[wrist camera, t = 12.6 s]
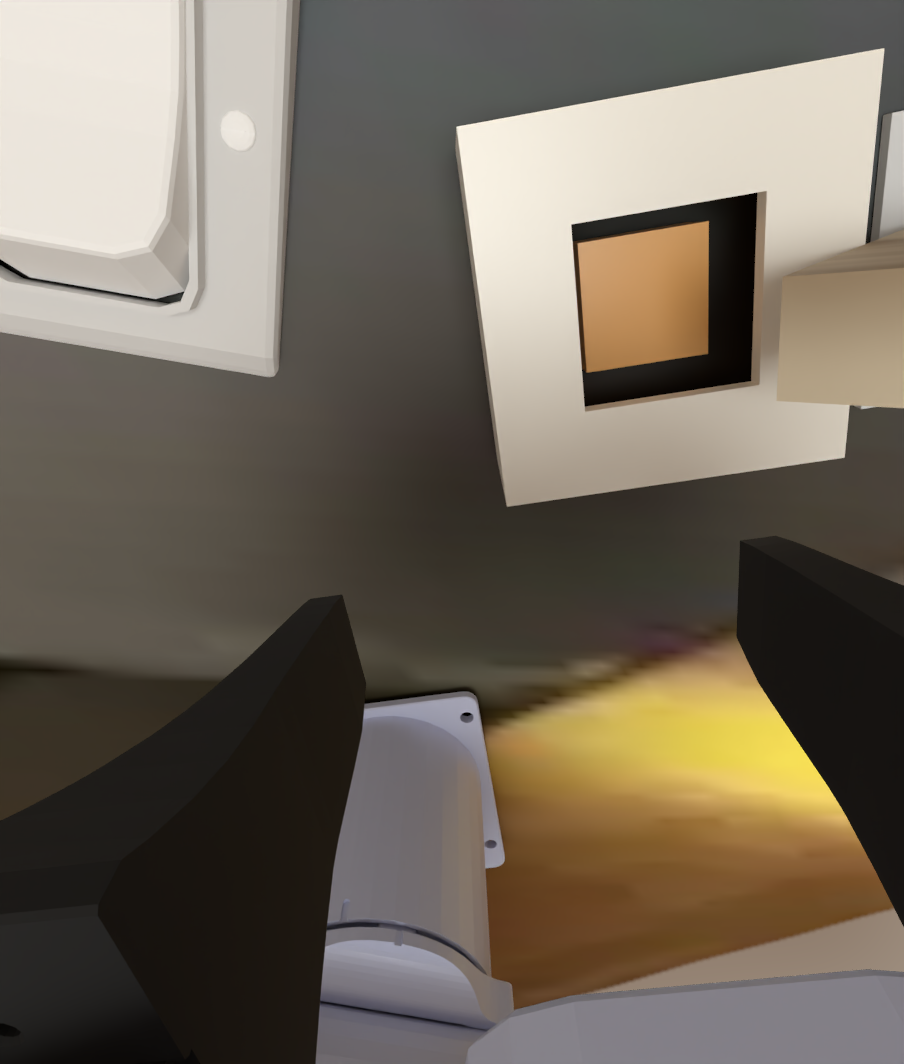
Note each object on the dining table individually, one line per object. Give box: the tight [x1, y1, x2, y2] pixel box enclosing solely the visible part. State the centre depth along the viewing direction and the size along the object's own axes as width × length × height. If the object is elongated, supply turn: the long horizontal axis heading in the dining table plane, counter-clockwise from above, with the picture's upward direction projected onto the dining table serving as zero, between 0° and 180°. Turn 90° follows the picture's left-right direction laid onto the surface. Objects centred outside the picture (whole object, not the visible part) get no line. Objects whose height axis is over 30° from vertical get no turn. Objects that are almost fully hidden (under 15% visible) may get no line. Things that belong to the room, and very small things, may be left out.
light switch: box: [0, 0, 300, 377], centre depth 16 cm, size 11×4×13 cm
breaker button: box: [573, 221, 709, 373], centre depth 18 cm, size 3×3×2 cm
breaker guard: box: [455, 48, 884, 507], centre depth 18 cm, size 9×9×4 cm
